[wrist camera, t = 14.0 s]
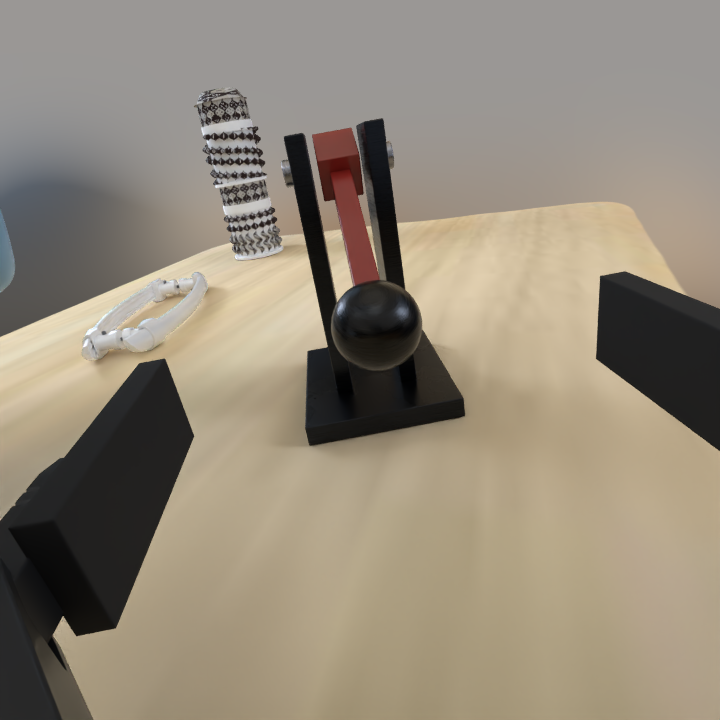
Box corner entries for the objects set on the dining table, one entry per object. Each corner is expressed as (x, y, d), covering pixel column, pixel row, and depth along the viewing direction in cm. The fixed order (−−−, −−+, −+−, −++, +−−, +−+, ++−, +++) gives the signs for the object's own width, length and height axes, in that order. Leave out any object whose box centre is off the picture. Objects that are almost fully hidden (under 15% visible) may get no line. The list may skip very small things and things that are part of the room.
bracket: (465, 416, 27) (439, 105, 20) (309, 446, 27) (232, 143, 20) (424, 343, 37) (397, 119, 30) (310, 364, 37) (259, 144, 30)
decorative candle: (294, 248, 81) (257, 82, 71) (244, 263, 77) (197, 88, 66) (272, 244, 88) (236, 92, 78) (225, 257, 84) (180, 99, 74)
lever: (431, 379, 19) (433, 320, 16) (343, 396, 19) (330, 340, 16) (368, 174, 28) (362, 113, 26) (309, 185, 28) (296, 125, 25)
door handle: (61, 375, 44) (153, 295, 67) (165, 357, 44) (222, 283, 67) (49, 349, 43) (146, 277, 66) (155, 330, 43) (216, 264, 65)
